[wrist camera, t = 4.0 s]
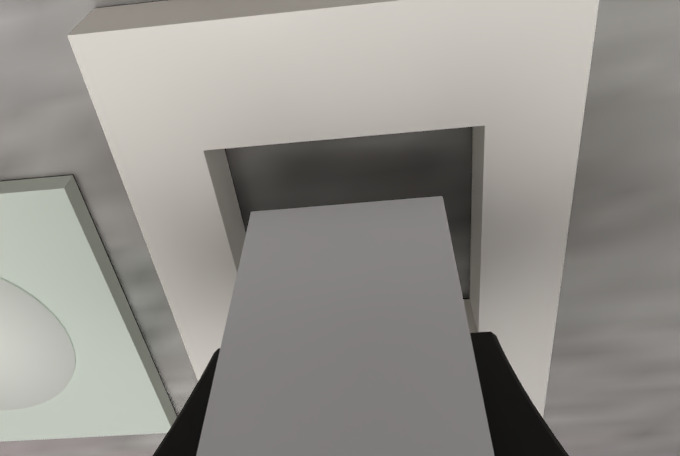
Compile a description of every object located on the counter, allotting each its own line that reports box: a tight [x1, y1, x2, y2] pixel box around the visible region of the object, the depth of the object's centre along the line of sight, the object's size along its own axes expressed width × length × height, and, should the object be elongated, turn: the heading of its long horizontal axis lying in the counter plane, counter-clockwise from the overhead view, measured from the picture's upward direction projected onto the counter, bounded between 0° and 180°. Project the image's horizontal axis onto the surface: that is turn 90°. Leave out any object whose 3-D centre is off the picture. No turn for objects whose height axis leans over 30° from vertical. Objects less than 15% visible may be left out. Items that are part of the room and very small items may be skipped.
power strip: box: [67, 0, 599, 418], centre depth 18 cm, size 18×10×2 cm, turn 6°
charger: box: [196, 196, 494, 456], centre depth 12 cm, size 4×4×7 cm
